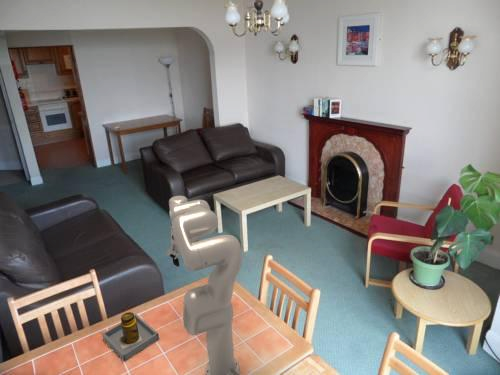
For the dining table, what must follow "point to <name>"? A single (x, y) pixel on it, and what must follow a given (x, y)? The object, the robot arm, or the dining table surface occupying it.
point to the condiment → (129, 331)
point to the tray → (147, 339)
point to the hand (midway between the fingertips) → (185, 260)
